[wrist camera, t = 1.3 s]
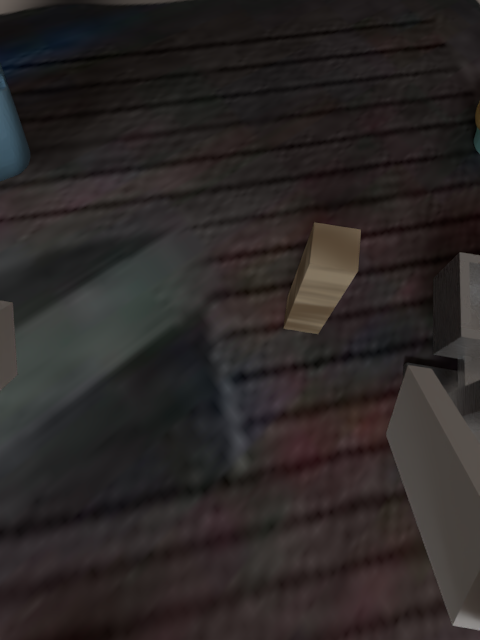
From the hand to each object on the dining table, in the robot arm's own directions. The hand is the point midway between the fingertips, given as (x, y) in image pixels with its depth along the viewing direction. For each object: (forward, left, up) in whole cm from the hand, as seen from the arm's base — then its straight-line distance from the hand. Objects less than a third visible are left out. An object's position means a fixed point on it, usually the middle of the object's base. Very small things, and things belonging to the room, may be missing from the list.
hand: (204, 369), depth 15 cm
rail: (-9, +13, -28) cm, 32 cm away
